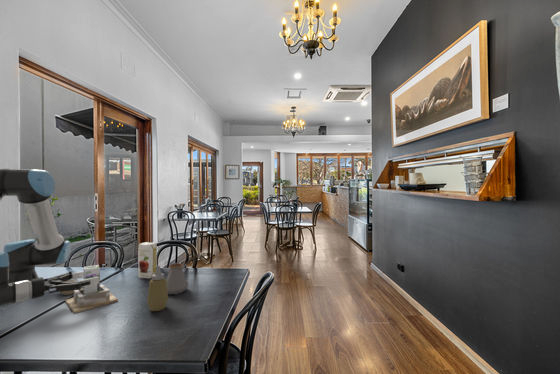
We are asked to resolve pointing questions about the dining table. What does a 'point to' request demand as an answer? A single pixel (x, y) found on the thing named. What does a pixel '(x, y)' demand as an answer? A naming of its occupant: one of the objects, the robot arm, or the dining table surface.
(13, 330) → the dining table surface
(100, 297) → the collar socket
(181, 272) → the coffee pot
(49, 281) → the robot arm
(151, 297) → the squeeze bottle
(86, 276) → the syrup box
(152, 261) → the juice carton
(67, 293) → the grey tan cylinder
